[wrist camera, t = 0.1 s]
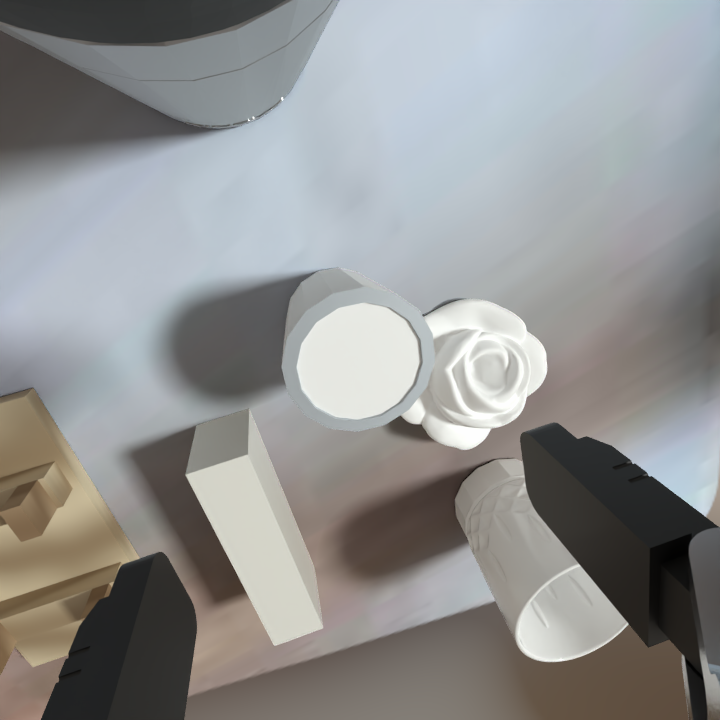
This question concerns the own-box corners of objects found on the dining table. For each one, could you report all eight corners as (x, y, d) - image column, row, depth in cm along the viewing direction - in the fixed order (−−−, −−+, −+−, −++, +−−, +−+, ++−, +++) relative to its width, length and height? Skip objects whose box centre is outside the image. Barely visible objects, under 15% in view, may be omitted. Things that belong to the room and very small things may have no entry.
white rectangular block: (196, 423, 27) (185, 474, 23) (249, 406, 28) (247, 454, 23) (271, 580, 33) (274, 646, 29) (314, 565, 34) (323, 628, 29)
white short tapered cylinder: (389, 369, 28) (428, 428, 22) (276, 373, 27) (283, 438, 21) (398, 256, 26) (444, 287, 19) (273, 255, 24) (279, 288, 18)
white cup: (534, 433, 33) (639, 535, 24) (553, 509, 36) (651, 624, 27) (432, 479, 33) (500, 600, 24) (461, 551, 36) (530, 681, 27)
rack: (-146, 440, 24) (-229, 497, 20) (33, 387, 24) (-11, 432, 20) (39, 652, 31) (7, 725, 27) (170, 607, 32) (158, 671, 28)
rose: (424, 494, 27) (389, 350, 23) (403, 452, 31) (370, 322, 27) (577, 440, 28) (570, 292, 24) (538, 406, 32) (525, 273, 28)
